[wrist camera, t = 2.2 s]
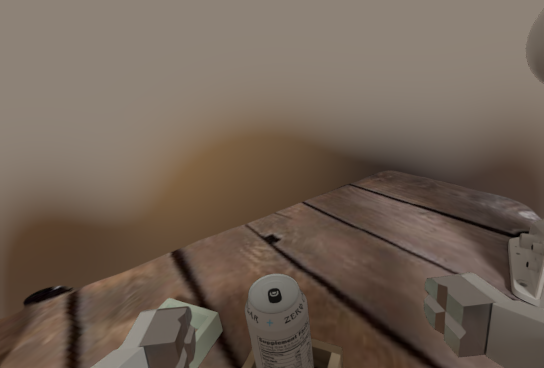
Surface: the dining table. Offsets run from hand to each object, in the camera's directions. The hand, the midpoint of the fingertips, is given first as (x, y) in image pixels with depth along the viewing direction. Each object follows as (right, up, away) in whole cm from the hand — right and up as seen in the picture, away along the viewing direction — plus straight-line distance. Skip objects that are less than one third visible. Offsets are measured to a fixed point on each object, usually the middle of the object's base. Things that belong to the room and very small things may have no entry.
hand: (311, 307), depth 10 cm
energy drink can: (+1, -20, +22) cm, 30 cm away
